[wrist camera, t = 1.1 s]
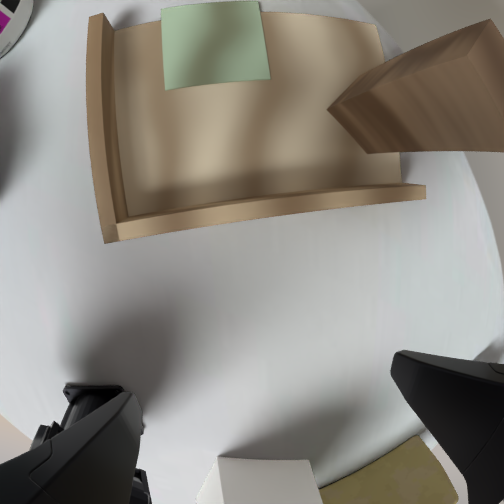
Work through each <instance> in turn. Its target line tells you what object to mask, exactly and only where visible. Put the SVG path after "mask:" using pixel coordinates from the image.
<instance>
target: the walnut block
mask: <svg viewBox="0 0 504 504" xmlns="http://www.w3.org/2000/svg"><path fill="white" fill-rule="evenodd" d="M326 110H327V111H328V112H329V113H330V114H331V115H332V116H333V117H334V118H335V119H336V120H337V121H338V122H339V123H340V124H341V125H342V126H343V127H344V129H345V130H346V131H347V132H348V133H349V134H350V135H351V136H352V137H353V138H354V140H355V141H356V142H357V143H358V144H359V145H360V146H361V148H362V149H363V150H364V151H365V152H366V153H367V154H377V153H394V152H419V151H486V152H504V38H503V37H502V35H501V34H500V32H499V30H498V29H497V28H496V26H495V24H494V23H493V21H492V20H491V19H488V20H485V21H482V22H479V23H476V24H474V25H471V26H468V27H465V28H462V29H460V30H457V31H454V32H452V33H450V34H447V35H444V36H442V37H440V38H437V39H435V40H432V41H430V42H428V43H425V44H423V45H421V46H419V47H416V48H414V49H412V50H410V51H408V52H405V53H403V54H401V55H399V56H397V57H395V58H393V59H391V60H389V61H387V62H385V63H383V64H381V65H379V66H377V67H375V68H373V69H371V70H369V71H367V72H365V73H363V74H362V75H360V76H359V77H358V78H357V79H356V80H355V81H354V82H353V83H352V84H351V85H350V86H349V87H348V88H347V89H346V90H345V91H344V92H343V93H342V94H341V95H340V96H339V97H338V98H337V99H336V100H335V101H334V102H333V103H332V104H331V105H330V106H329V107H328V108H327V109H326Z"/></svg>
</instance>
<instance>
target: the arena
mask: <svg viewBox="0 0 504 504" xmlns="http://www.w3.org/2000/svg"><path fill="white" fill-rule="evenodd" d="M383 63H385V59H384V54H383V50H382V46H381V42H380V38H379V35H378V31H377V28H376V25H373V24H368V23H364V22H359V21H353V20H348V19H341V18H335V17H328V16H320V15H310V14H299V13H283V12H260V10H259V4H258V1H231V2H214V3H202V4H193V5H185V6H177V7H171V8H165V9H161V20H160V21H155V22H150V23H145V24H140V25H136V26H132V27H127V28H123V29H120V30H116V31H114V29H113V28H112V26H111V24H110V23H109V21H108V19H107V18H106V16H105V14H104V13H100V14H97V15H94V16H91V17H89V23H88V36H87V54H86V105H87V125H88V138H89V149H90V159H91V168H92V176H93V183H94V190H95V196H96V202H97V208H98V214H99V219H100V225H101V230H102V235H103V239H104V244H106V243H112V242H117V241H123V240H128V239H134V238H139V237H145V236H151V235H157V234H163V233H169V232H175V231H181V230H187V229H193V228H199V227H206V226H212V225H219V224H225V223H232V222H239V221H246V220H252V219H259V218H267V217H274V216H281V215H289V214H296V213H304V212H312V211H320V210H328V209H336V208H345V207H354V206H363V205H372V204H381V203H391V202H401V201H411V200H422V199H426V185H418V184H409V183H402V180H401V165H400V153H399V152H394V153H377V154H367V153H366V152H365V151H364V150H363V149H362V148H361V146H360V145H359V144H358V143H357V142H356V141H355V140H354V138H353V137H352V136H351V135H350V134H349V133H348V132H347V131H346V130H345V129H344V127H343V126H342V125H341V124H340V123H339V122H338V121H337V120H336V119H335V118H334V117H333V116H332V115H331V114H330V113H329V112H328V111H327V110H326V109H327V108H328V107H329V106H330V105H331V104H332V103H333V102H334V101H335V100H336V99H337V98H338V97H339V96H340V95H341V94H342V93H343V92H344V91H345V90H346V89H347V88H348V87H349V86H350V85H351V84H352V83H353V82H354V81H355V80H356V79H357V78H358V77H359V76H360V75H362V74H363V73H365V72H367V71H369V70H371V69H373V68H375V67H377V66H379V65H381V64H383Z"/></svg>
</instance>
